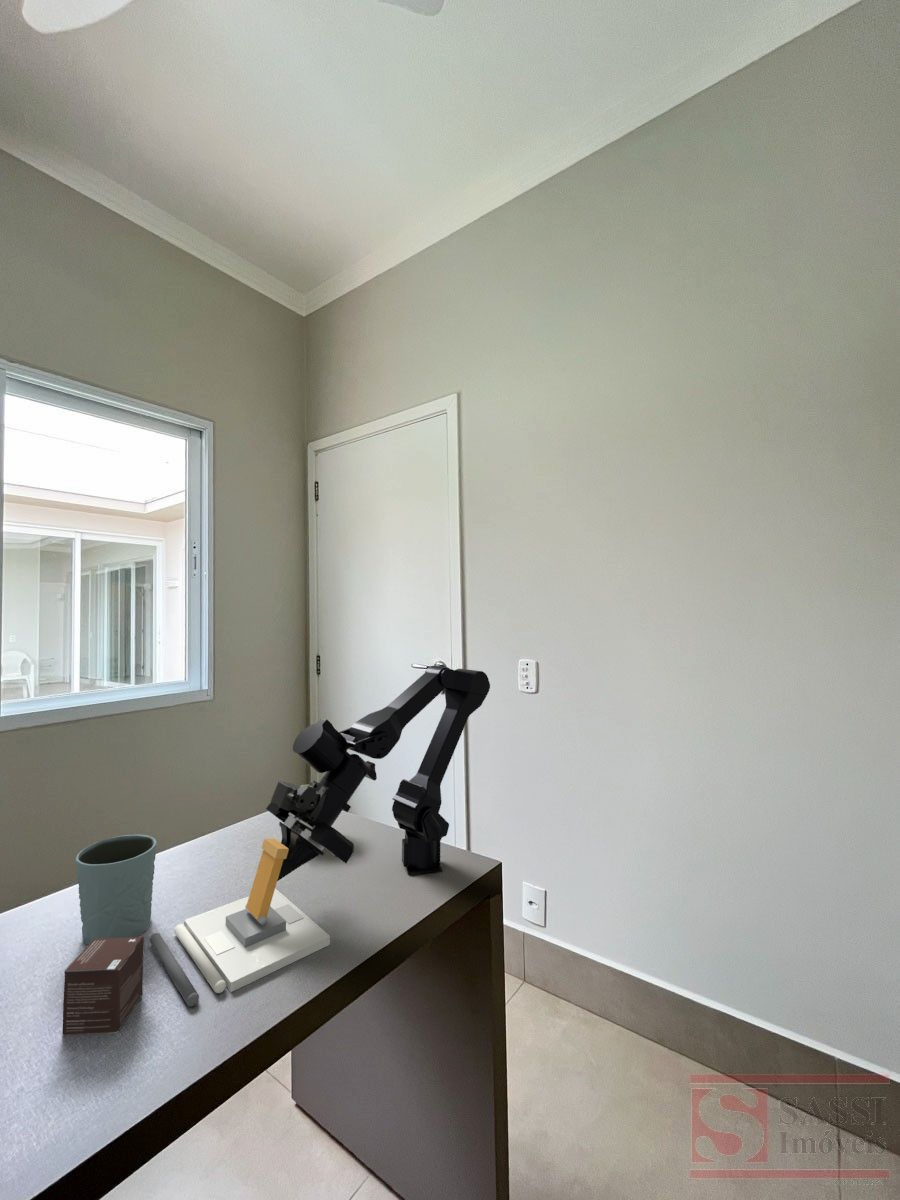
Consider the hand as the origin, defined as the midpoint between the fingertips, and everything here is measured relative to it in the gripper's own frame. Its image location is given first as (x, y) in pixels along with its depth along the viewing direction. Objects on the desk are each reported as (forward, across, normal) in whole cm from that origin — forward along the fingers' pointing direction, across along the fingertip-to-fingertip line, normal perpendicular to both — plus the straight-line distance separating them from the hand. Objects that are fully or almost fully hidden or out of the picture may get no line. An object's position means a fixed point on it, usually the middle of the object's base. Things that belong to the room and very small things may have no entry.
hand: (271, 880), depth 79 cm
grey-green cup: (+17, -15, -7) cm, 24 cm away
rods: (+14, 0, -4) cm, 14 cm away
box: (+20, +3, -10) cm, 23 cm away
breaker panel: (+7, 0, +3) cm, 8 cm away
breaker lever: (+4, 0, +1) cm, 5 cm away
